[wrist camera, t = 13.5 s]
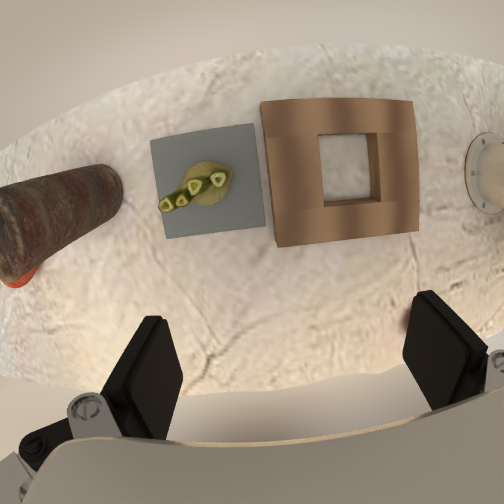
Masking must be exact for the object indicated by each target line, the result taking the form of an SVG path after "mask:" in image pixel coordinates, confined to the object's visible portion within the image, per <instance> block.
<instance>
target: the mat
mask: <svg viewBox="0 0 504 504" xmlns="http://www.w3.org/2000/svg"><path fill="white" fill-rule="evenodd" d="M150 145H151V152H152V159H153V166H154V172H155V179H156V185H157V191H158V197H159V202H160V200H161V199H162V198H163V197H165V196H167V195H169V194H171V193H173V192H175V191H176V189H177V187H178V186H179V185H180V183H181V181H182V179H183V177H184V174H185V172H186V171H187V170H188V168H190V167H191V166H192V165H194V164H196V163H198V162H202V161H211V162H215V163H218V164H220V165H223V166H228V167H229V168H231V169H232V170H233V176H232V180H231V184H230V187H229V190H228V193H227V194H226V196H225V197H224V198H223V199H222V200H221V201H220V202H218V203H217V204H215V205H212V206H200V205H197V204H193V203H189V204H188V205H187V206H185V207H179V208H177V209H176V210H174V211H172V212H168V213H163V212H161V213H162V219H163V224H164V229H165V234H166V239H170V238H178V237H185V236H192V235H200V234H207V233H215V232H223V231H231V230H239V229H247V228H255V227H264V226H266V225H265V216H264V207H263V199H262V190H261V182H260V173H259V165H258V157H257V149H256V141H255V133H254V125H253V123H251V124H243V125H235V126H228V127H221V128H214V129H208V130H202V131H196V132H190V133H185V134H180V135H175V136H170V137H165V138H160V139H156V140H151V141H150Z"/></svg>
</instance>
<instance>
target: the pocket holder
mask: <svg viewBox="0 0 504 504" xmlns="http://www.w3.org/2000/svg"><path fill="white" fill-rule="evenodd" d="M260 112H261V119H262V127H263V135H264V143H265V151H266V160H267V168H268V177H269V185H270V194H271V203H272V212H273V222H274V231H275V240H276V244H277V247H278V248H281V247H289V246H297V245H306V244H314V243H323V242H331V241H339V240H348V239H356V238H365V237H373V236H381V235H390V234H398V233H407V232H415V231H419V164H418V148H417V136H416V125H415V117H414V109H413V101H402V100H388V99H369V98H310V99H290V100H276V101H264V102H261V104H260ZM338 134H367V142H368V153H369V166H370V183H371V198H365V199H353V200H341V201H330V202H324V200H323V187H322V175H321V164H320V154H319V144H318V135H338Z"/></svg>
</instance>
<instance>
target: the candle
mask: <svg viewBox="0 0 504 504" xmlns="http://www.w3.org/2000/svg"><path fill="white" fill-rule="evenodd" d="M121 197H122V192H121V185H120V180H119V178H118V177H117V175H116V174H115V173H114V171H113V170H112V169H111V168H110V167H109V166H106V165H102V164H100V165H92V166H86V167H81V168H76V169H72V170H67V171H63V172H59V173H55V174H51V175H46V176H41V177H38V178H33V179H29V180H26V181H23V182H18V183H14V184H10V185H7V186H4V187H0V278H1V279H2V280H3V281H4V282H8V283H12V282H15V281H17V280H18V279H20V278H21V277H22V276H24V275H25V274H26V273H28V272H29V271H30V270H32V269H33V268H34V267H36V266H37V265H39V264H40V263H42V262H43V261H45V260H46V259H47V258H49V257H50V256H52V255H53V254H55V253H56V252H58V251H59V250H61V249H63V248H64V247H66V246H67V245H69V244H70V243H72V242H73V241H75V240H77V239H78V238H80V237H82V236H83V235H85V234H87V233H88V232H90V231H92V230H93V229H95V228H97V227H98V226H100V225H101V224H103V223H105V222H106V221H108V220H110V219H111V218H112V217H113V216H114V215H115V214H116V212H117V211H118V208H119V206H120V202H121Z"/></svg>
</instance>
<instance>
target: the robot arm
mask: <svg viewBox="0 0 504 504" xmlns="http://www.w3.org/2000/svg"><path fill="white" fill-rule="evenodd" d="M466 183H467V188H468V192H469V194H470V197H471V199H472V201H473V203H474V204H475V205H476V207H477V208H478V209H480V210H481V211H483V212H485V213H489V214H496V213H498V212H500V211H501V210H503V209H504V140H503V139H502V138H501V137H499V136H498V135H496V134H493V133H485V134H481V135H480V136H478V137H477V138H476V139H475V140H474V141H473V143H472V144H471V147H470V149H469V151H468V155H467V160H466ZM487 349H488V346H487V345H486V344H485V343H484V342H483V341H482V340H481V339H480V338H479V337H478V335H477V334H476V333H475V332H474V331H473V330H472V329H471V328H470V327H469V326H468V325H467V324H466V323H465V322H464V321H463V320H462V319H461V318H460V317H459V316H458V315H457V314H456V313H455V312H454V311H453V310H452V309H451V308H450V307H449V306H448V305H447V304H446V303H445V302H444V301H443V300H442V299H441V298H440V297H439V296H438V295H437V294H436V293H435V292H434V291H432V290H427V291H421V292H418V293H417V295H416V296H415V297H414V298H413V301H412V307H411V313H410V319H409V324H408V329H407V334H406V338H405V343H404V347H403V359H404V361H405V363H406V365H407V366H408V368H409V370H410V371H411V373H412V375H413V377H414V378H415V380H416V382H417V383H418V385H419V387H420V389H421V391H422V392H423V394H424V396H425V398H426V400H427V402H428V403H429V405H430V407H431V409H432V411H431V412H428V413H424V414H421V415H418V416H414V417H411V418H407V419H404V420H400V421H396V422H393V423H389V424H384V425H380V426H376V427H371V428H366V429H362V430H357V431H351V432H346V433H340V434H334V435H327V436H320V437H313V438H305V439H296V440H284V441H270V442H252V443H251V442H250V443H206V442H184V441H183V442H182V441H169V440H166V437H167V433H168V430H169V426H170V423H171V419H172V416H173V412H174V409H175V406H176V402H177V399H178V395H179V392H180V389H181V385H182V382H183V373H182V370H181V367H180V363H179V360H178V357H177V354H176V350H175V347H174V343H173V340H172V337H171V333H170V329H169V326H168V322H167V320H166V319H163V318H162V317H161V316H145V318H144V319H143V321H142V322H141V324H140V326H139V327H138V329H137V331H136V332H135V334H134V335H133V337H132V339H131V340H130V342H129V344H128V345H127V347H126V349H125V350H124V352H123V354H122V355H121V357H120V359H119V361H118V362H117V364H116V366H115V367H114V369H113V371H112V373H111V374H110V376H109V378H108V380H107V381H106V383H105V385H104V387H103V389H102V391H101V393H100V394H98V393H94V392H91V393H84V394H81V395H79V396H77V397H76V398H74V399H73V400H72V401H71V402H70V404H69V406H68V408H67V416H68V417H67V418H65V419H63V420H60V421H58V422H56V423H53V424H51V425H49V426H46V427H44V428H41V429H39V430H36V431H34V432H31V433H29V434H28V435H26V436H25V437H24V438H23V439H22V441H21V442H20V445H19V453H18V454H16V453H15V452H13V453H11V454H10V455H9V456H7V457H6V458H4V459H3V460H2V461H0V504H504V350H495V351H493V352H491V354H490V355H488V354H487V353H486V352H487Z"/></svg>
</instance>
